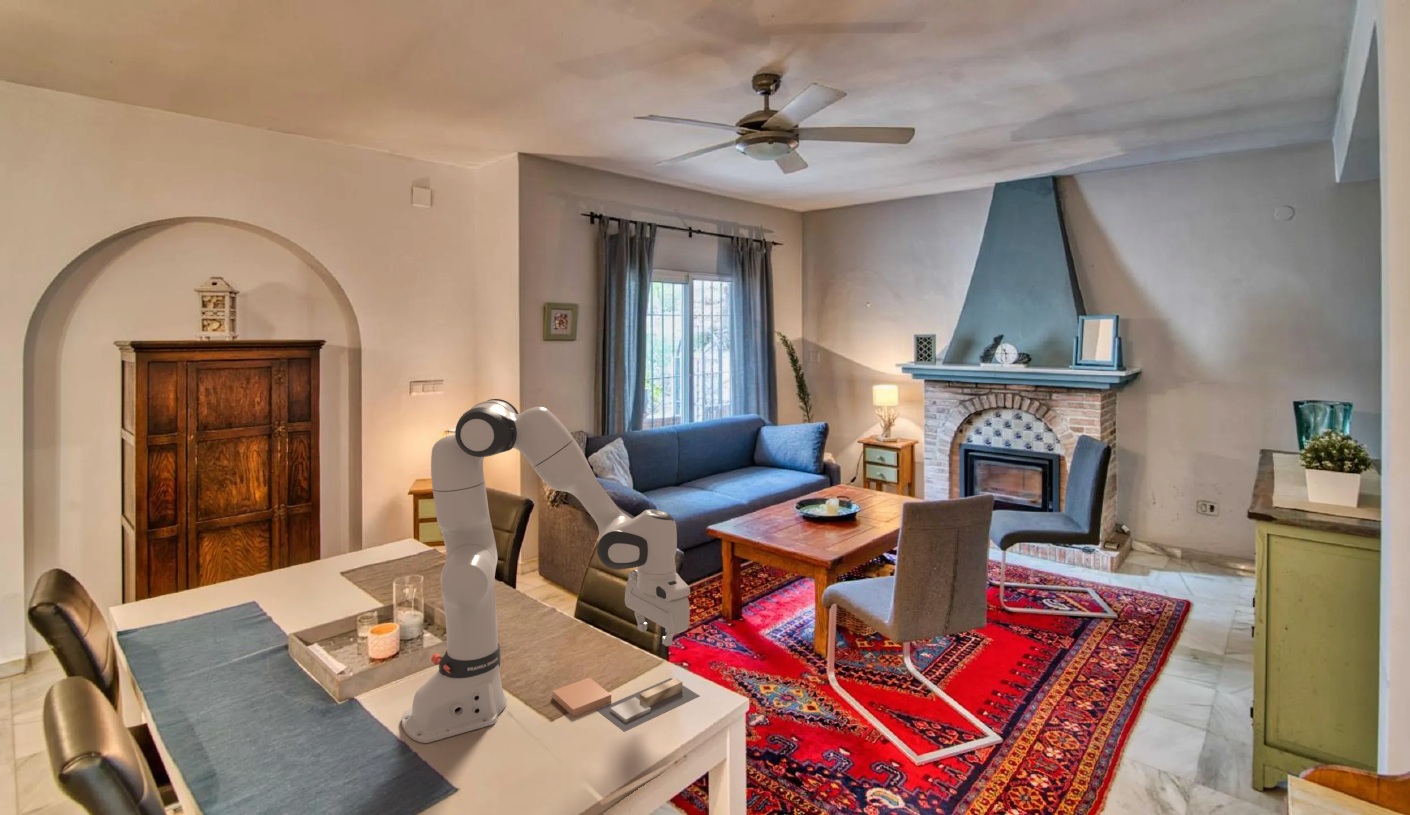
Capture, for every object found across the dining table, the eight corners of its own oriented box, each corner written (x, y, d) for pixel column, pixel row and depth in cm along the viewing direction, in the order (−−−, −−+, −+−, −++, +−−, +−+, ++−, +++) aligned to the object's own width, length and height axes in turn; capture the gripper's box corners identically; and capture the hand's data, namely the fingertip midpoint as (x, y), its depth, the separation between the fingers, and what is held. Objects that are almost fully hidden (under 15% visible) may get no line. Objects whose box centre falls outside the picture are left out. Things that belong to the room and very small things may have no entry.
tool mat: (624, 734, 147) (624, 731, 147) (596, 712, 155) (596, 709, 155) (700, 698, 162) (700, 695, 162) (670, 680, 170) (670, 677, 170)
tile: (611, 705, 159) (573, 720, 153) (589, 687, 167) (552, 701, 160) (611, 694, 159) (573, 709, 152) (589, 677, 166) (552, 690, 160)
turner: (625, 722, 150) (625, 712, 150) (610, 711, 155) (610, 701, 155) (687, 694, 162) (687, 684, 162) (671, 684, 167) (671, 674, 167)
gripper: (619, 569, 162) (617, 625, 164) (673, 596, 147) (671, 657, 148) (640, 564, 166) (638, 618, 168) (695, 590, 151) (692, 649, 153)
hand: (654, 637), depth 158 cm, fingers open, 8 cm apart
